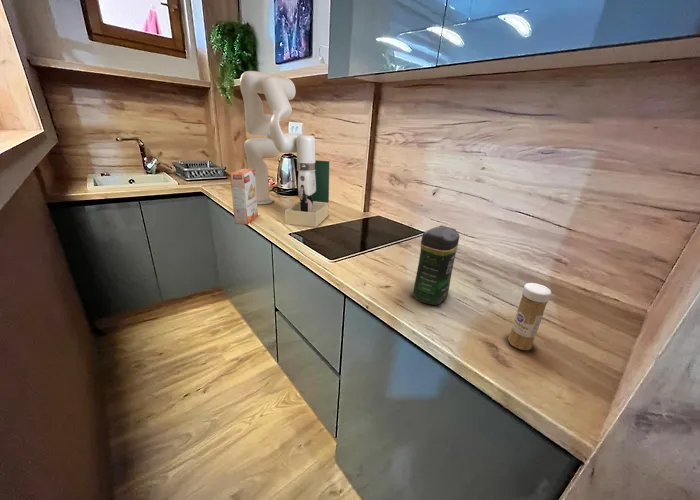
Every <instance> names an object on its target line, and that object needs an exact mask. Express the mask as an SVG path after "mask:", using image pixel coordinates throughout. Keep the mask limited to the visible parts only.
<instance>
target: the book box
mask: <svg viewBox="0 0 700 500" xmlns="http://www.w3.org/2000/svg"><path fill="white" fill-rule="evenodd" d="M328 217H329V203H325V202H315V201H313V211H312V213H310V212H302V211H301V205H300V201H297V202H296V203H295V204H293V205H292V206H290V207H288V208H286V209H285V210H284V219H285V224H287V225H295V226H302V227H311V228H317V227H318V226H319V225H321V223H322V222H323V221H324V220H326V219H327V218H328Z"/></svg>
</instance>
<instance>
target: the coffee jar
mask: <svg viewBox="0 0 700 500" xmlns="http://www.w3.org/2000/svg"><path fill="white" fill-rule="evenodd" d="M459 241H460V233H459V232H458V231H457V229H456V228H453V227H450V226H446V225H439V226H436V227H435V226H434V227H432V228H430V229H428V230H426V231H424V232H423V233H422V236H421V239H420V252H419V258H418V265H417V269H416V276H415V280H414V286H413V291H412V294H413V297H414V298H415V299H416V300H418V301H420V302H422V303H424V304H429V305H435V306H436V305H439V304H441V303H442V302H443V301H445V300H446V298H447V297H448V295H449V290H450V285H451V281H452V279H451V278H452V273H453V268H454V263H455V259H456V254H457V251H458V247H459Z"/></svg>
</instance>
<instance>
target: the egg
mask: <svg viewBox="0 0 700 500" xmlns="http://www.w3.org/2000/svg"><path fill="white" fill-rule="evenodd" d="M307 202H308V212H310V213H312V211H313V205H312V202H311V201H310V200H309V199H307ZM302 212H304V211H302Z"/></svg>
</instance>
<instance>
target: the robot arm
mask: <svg viewBox="0 0 700 500" xmlns="http://www.w3.org/2000/svg"><path fill="white" fill-rule="evenodd" d="M239 88H240V93H241V96H242V99H243V105H244V107H243V108H244V119H245V120H244V121H245V128H246V131H247V133H248V134H249V135H252V136H266V137H251V138H248V139H246V140H245V141H244V144H243V149H244V153H245V158H246V161H247V169H255V178H256V194H257V206H258V205H268V204H272V203H273V202H274V199H273V198H271V197H270V185H269V184H270V183H269V181H270V180H269V168H268V165H267V163H266V162H265V160H264V159H272V158H276V157H278V156H279V155H280V153H282V154H290V153H292V154H293V153H295V154H296V171H297V172H298V173H297V174H298V175H297V193H298V198H299V202H300V205H301V211H304V212H308V202H307V199H309V200H310V201H311V202H312V205H313V202H314V201H313V194H314V193H315V192H316V177H315V160H316V138H315V136H314V135H310V134H309V135H308V134H307V135H306V134H303V133H290V132H289V133H284V132H283V130H282V128H281V125H280V122H282V121H284V120H286V119H287V118H289V117H290V116H291V115H292V113H293V108H292V106H291V103H290V101H291V100H293V99H295V96H296V93H297V92H296V85H295V84H294V82H293V81H292V80H291V79H290V78H287V77H285V76H281V75H280V74H279V75H278V74H276V73H275V74H274V73H270V72H262V71H257V70H247V71H244V72H243V73H242V74H241V75H240V79H239ZM259 94H260V95H261V94H263V95H264V97H265V99H266V102H267V104H268V107H269V110H270V112H271V114H268V113H266V114H265V113H264V103H263V101H262V98H261V97H260V96H259ZM303 194H306V195H303ZM303 196H304V197H305V198H304V197H303Z"/></svg>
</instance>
